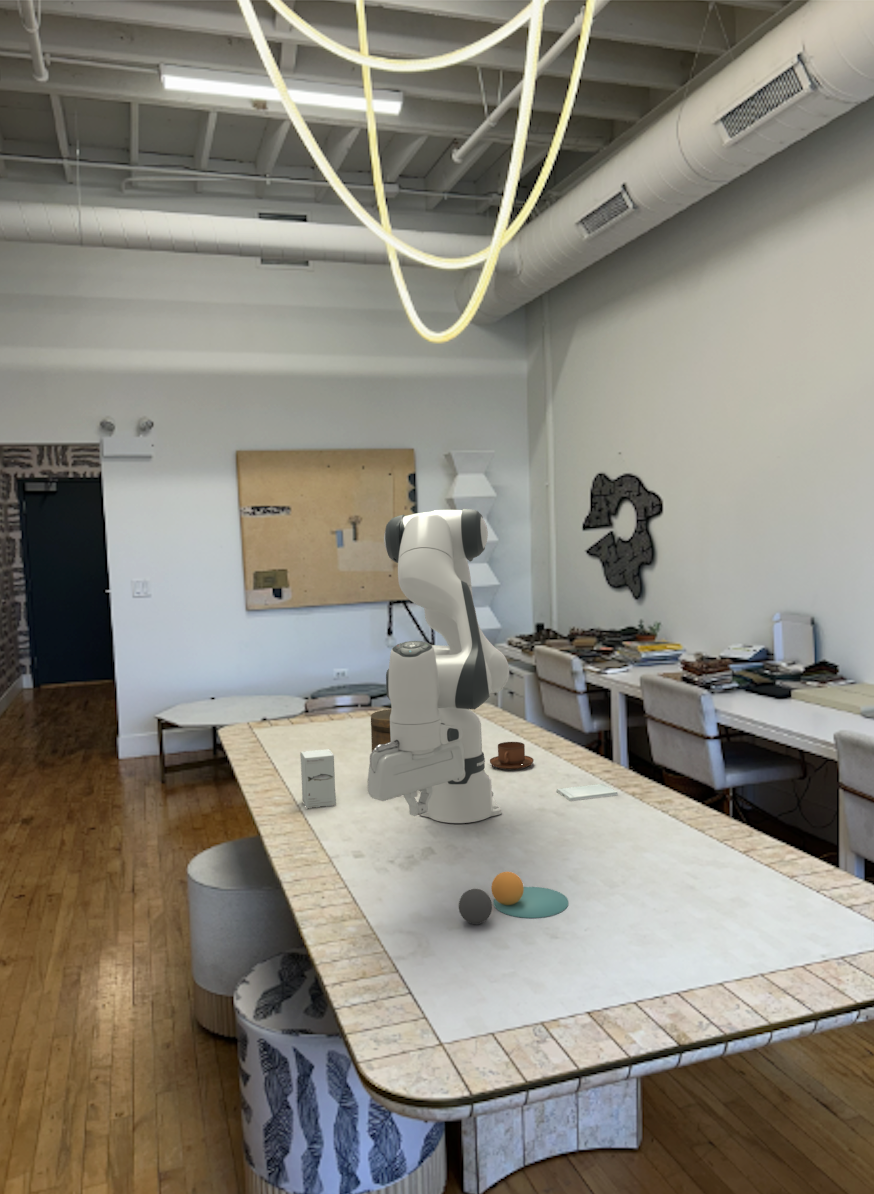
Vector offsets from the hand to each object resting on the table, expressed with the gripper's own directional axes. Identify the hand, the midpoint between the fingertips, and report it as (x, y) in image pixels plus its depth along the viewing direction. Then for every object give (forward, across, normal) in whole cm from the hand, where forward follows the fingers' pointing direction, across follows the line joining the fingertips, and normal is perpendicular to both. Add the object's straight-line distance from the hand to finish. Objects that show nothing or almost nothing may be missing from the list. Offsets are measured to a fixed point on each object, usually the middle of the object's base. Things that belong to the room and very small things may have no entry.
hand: (418, 813), depth 161 cm
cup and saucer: (+16, +80, +49) cm, 95 cm away
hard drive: (+17, +71, +18) cm, 75 cm away
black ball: (+13, 0, -13) cm, 18 cm away
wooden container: (+16, +50, +61) cm, 81 cm away
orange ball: (+13, +10, -12) cm, 20 cm away
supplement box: (+16, +24, +63) cm, 70 cm away
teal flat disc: (+16, +13, -14) cm, 25 cm away
